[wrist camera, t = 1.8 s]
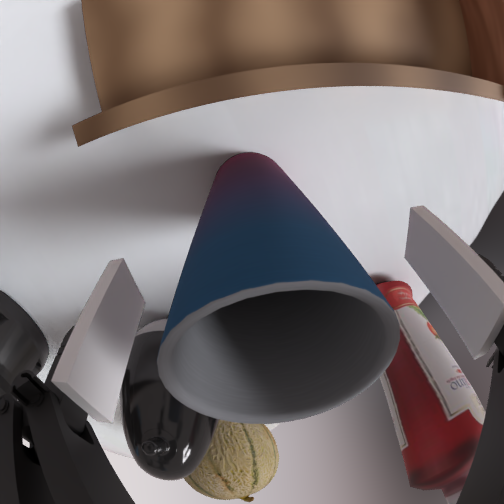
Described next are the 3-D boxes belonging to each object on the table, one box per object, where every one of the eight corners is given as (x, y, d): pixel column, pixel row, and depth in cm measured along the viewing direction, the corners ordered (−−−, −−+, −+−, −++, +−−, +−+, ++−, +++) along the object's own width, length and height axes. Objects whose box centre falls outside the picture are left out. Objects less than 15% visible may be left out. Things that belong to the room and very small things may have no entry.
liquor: (419, 286, 27) (529, 512, 3) (374, 330, 30) (451, 551, 6) (382, 259, 24) (516, 549, 1) (332, 311, 27) (410, 587, 4)
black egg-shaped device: (228, 301, 25) (232, 469, 13) (227, 366, 31) (232, 491, 18) (121, 297, 24) (74, 447, 12) (142, 361, 30) (123, 480, 17)
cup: (193, 148, 18) (111, 303, 5) (293, 134, 18) (428, 257, 5) (211, 234, 22) (196, 429, 9) (299, 222, 22) (373, 402, 9)
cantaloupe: (167, 393, 34) (158, 492, 22) (273, 389, 35) (288, 492, 22) (189, 430, 42) (188, 504, 30) (272, 427, 43) (281, 502, 30)
